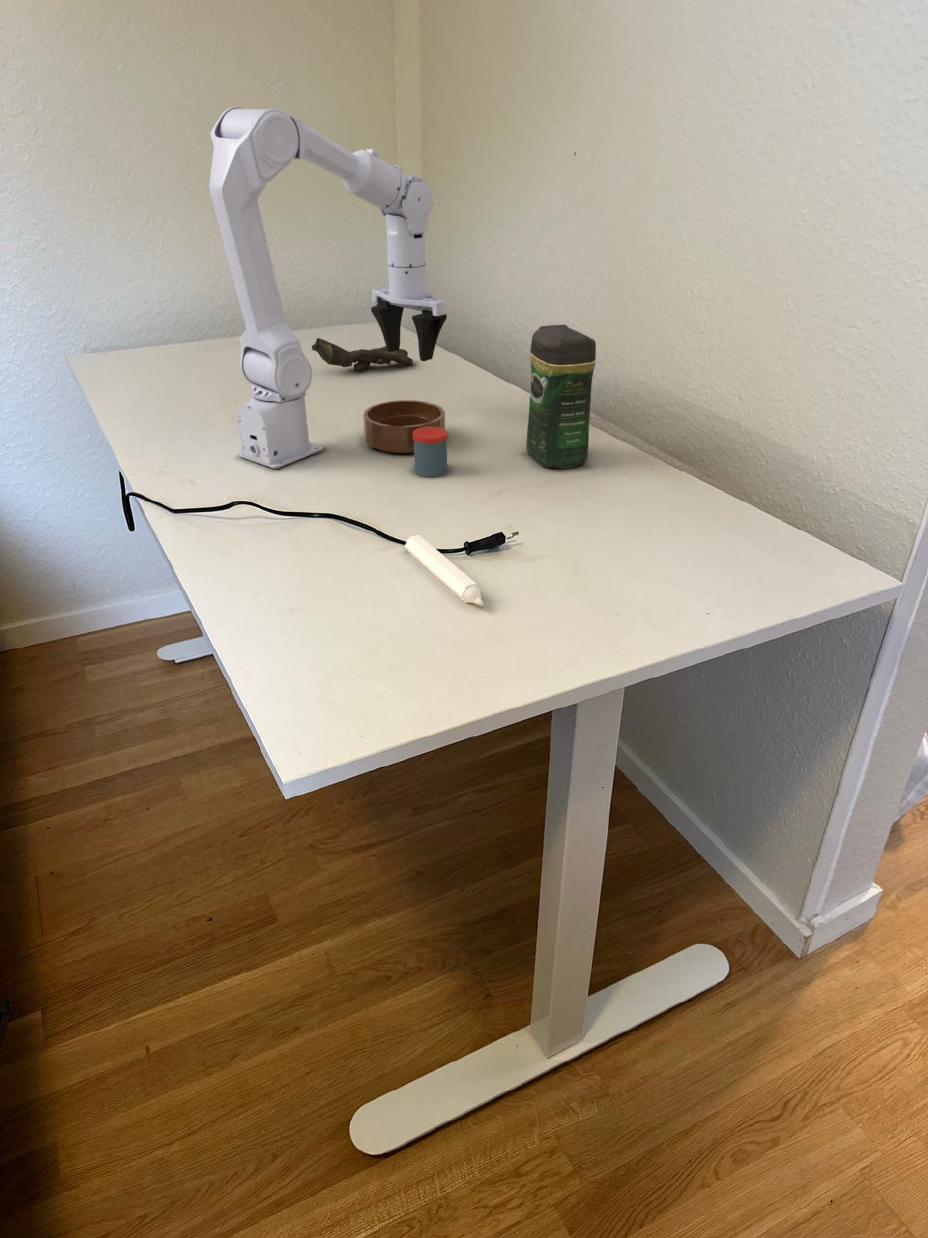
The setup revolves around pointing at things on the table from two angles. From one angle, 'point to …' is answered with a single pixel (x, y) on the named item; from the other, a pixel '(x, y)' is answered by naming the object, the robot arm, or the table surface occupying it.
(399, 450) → the bowl
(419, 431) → the container
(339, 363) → the brown long irregular piece
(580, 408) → the coffee jar
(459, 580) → the marker
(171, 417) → the table surface
